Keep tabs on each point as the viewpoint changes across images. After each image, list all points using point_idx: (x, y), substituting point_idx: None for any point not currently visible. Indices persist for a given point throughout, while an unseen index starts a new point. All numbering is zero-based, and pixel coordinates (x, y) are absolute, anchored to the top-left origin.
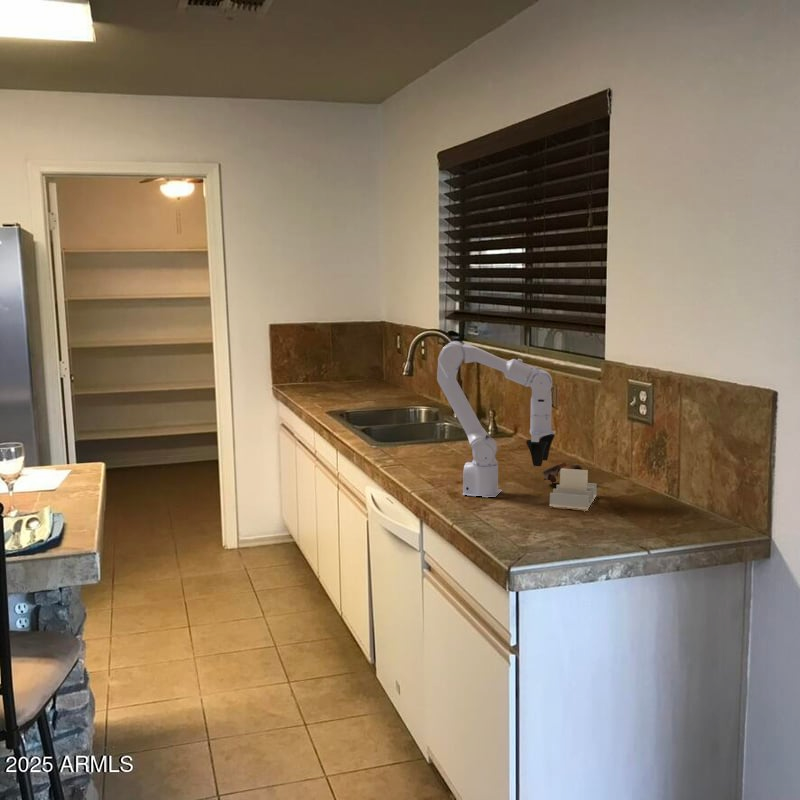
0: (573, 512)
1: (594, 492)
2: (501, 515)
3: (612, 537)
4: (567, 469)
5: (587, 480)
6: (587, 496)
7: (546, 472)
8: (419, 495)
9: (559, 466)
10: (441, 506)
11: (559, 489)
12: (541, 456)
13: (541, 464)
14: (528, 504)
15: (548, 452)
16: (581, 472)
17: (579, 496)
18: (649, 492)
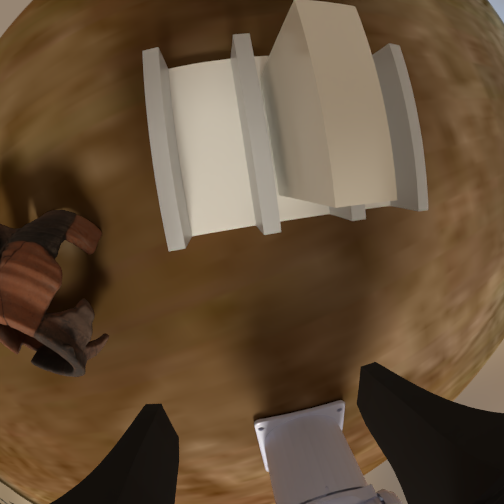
0: None
1: (167, 69)
2: (472, 298)
3: (484, 33)
4: (354, 145)
5: (280, 35)
6: (399, 48)
7: (85, 362)
8: None
9: (36, 321)
10: None
11: None
12: (432, 399)
13: (376, 367)
14: (375, 289)
15: (141, 445)
16: (361, 36)
17: (406, 78)
18: (41, 3)
